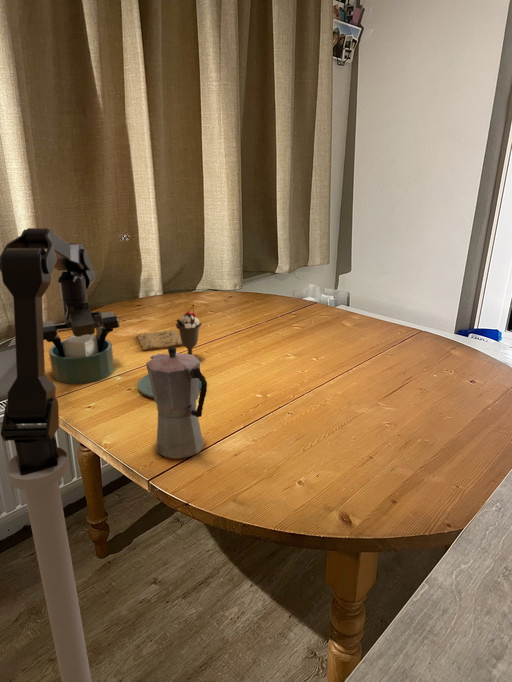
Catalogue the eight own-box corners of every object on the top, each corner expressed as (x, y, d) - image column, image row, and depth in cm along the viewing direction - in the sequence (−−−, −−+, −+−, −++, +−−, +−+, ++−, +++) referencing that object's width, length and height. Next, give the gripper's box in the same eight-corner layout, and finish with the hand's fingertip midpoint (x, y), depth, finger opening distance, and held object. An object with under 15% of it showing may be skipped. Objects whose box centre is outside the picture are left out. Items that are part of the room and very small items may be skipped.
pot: (59, 389, 116) (55, 363, 114) (48, 366, 128) (44, 342, 126) (121, 375, 123) (118, 351, 121) (105, 355, 135) (102, 332, 133)
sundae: (205, 355, 135) (203, 302, 130) (200, 365, 129) (198, 310, 124) (181, 354, 136) (178, 301, 130) (175, 364, 130) (172, 309, 124)
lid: (151, 408, 108) (149, 385, 106) (129, 380, 121) (127, 359, 119) (216, 391, 116) (215, 369, 113) (189, 367, 128) (188, 347, 126)
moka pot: (173, 423, 102) (168, 332, 95) (229, 451, 93) (228, 352, 86) (136, 443, 95) (127, 346, 88) (192, 475, 86) (187, 370, 79)
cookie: (186, 345, 142) (185, 342, 142) (143, 351, 138) (142, 347, 137) (176, 331, 152) (176, 328, 152) (136, 336, 148) (135, 333, 148)
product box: (88, 371, 122) (84, 343, 119) (65, 369, 123) (61, 341, 120) (100, 361, 127) (97, 334, 125) (78, 359, 128) (74, 332, 126)
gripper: (37, 312, 108) (48, 377, 113) (123, 300, 117) (128, 361, 122) (30, 299, 117) (40, 360, 122) (110, 289, 125) (115, 346, 131)
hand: (82, 357), depth 124 cm, fingers closed on product box, 8 cm apart
